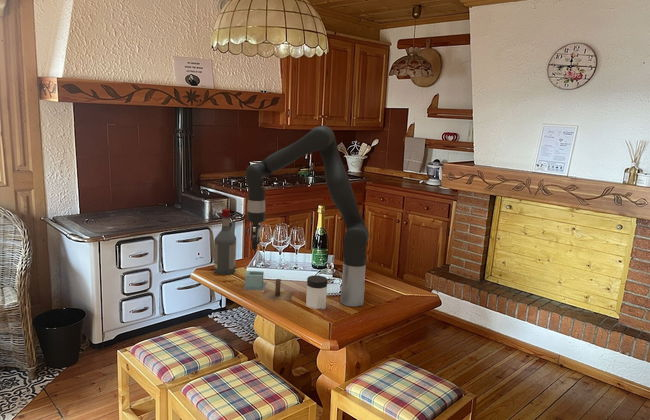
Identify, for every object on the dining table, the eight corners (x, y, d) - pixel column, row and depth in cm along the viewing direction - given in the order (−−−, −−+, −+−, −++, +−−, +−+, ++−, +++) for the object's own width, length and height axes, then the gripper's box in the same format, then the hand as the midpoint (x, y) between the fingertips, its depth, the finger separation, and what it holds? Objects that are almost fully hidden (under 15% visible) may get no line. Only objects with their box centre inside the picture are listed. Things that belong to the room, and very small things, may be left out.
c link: (244, 287, 211) (245, 275, 210) (246, 282, 217) (247, 270, 215) (261, 288, 211) (262, 276, 210) (263, 283, 217) (263, 271, 216)
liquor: (236, 268, 236) (237, 208, 230) (232, 275, 227) (234, 212, 221) (217, 267, 236) (218, 207, 229) (213, 274, 227) (213, 211, 221)
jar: (311, 312, 193) (313, 283, 190) (301, 304, 200) (302, 277, 197) (330, 308, 198) (332, 280, 195) (319, 301, 205) (321, 273, 202)
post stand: (292, 294, 210) (293, 276, 208) (291, 302, 201) (292, 284, 199) (264, 292, 209) (264, 275, 208) (261, 301, 201) (262, 282, 199)
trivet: (266, 284, 219) (266, 282, 218) (264, 292, 210) (264, 289, 210) (246, 283, 218) (246, 281, 218) (243, 291, 210) (243, 288, 209)
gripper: (263, 214, 202) (262, 252, 205) (266, 206, 215) (265, 242, 219) (245, 213, 201) (244, 251, 205) (249, 206, 215) (248, 241, 219)
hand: (255, 246), depth 212 cm, fingers open, 8 cm apart
